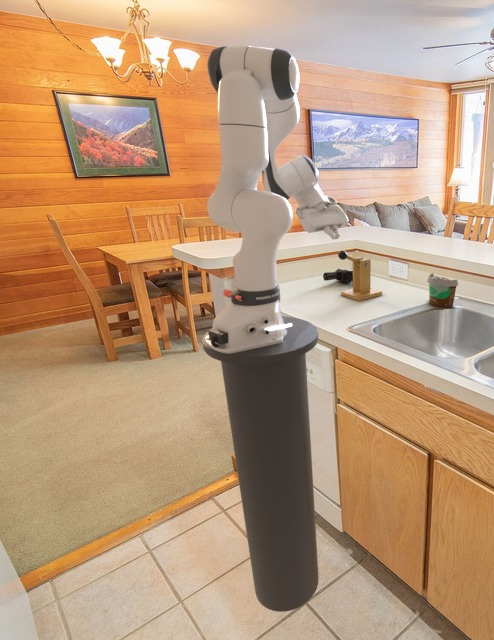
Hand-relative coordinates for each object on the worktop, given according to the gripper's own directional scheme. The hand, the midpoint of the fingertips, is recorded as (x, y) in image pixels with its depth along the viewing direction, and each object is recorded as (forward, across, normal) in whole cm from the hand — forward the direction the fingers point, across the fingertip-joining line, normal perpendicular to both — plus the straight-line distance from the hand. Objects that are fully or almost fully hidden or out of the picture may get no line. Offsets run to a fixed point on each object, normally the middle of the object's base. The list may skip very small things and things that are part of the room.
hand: (336, 237), depth 152 cm
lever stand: (+18, +9, +12) cm, 24 cm away
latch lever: (+9, +4, +4) cm, 10 cm away
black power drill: (+8, +20, +23) cm, 31 cm away
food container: (+39, +16, -8) cm, 43 cm away
